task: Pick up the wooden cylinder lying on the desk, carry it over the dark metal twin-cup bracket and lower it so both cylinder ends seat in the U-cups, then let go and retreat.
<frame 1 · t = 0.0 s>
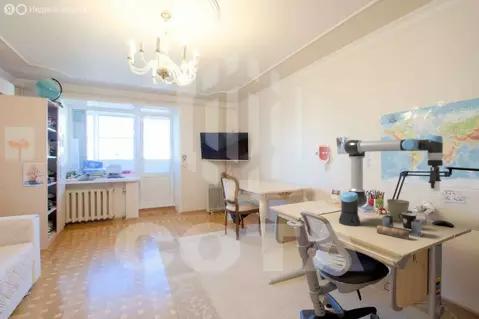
hand: (434, 192, 152), 28 cm above the table, fingers open, 13 cm apart
plant pot: (397, 220, 186), on the table
bracket: (401, 231, 159), on the table
wooden cylinder: (392, 235, 152), on the table
coffee mug: (407, 227, 169), on the table
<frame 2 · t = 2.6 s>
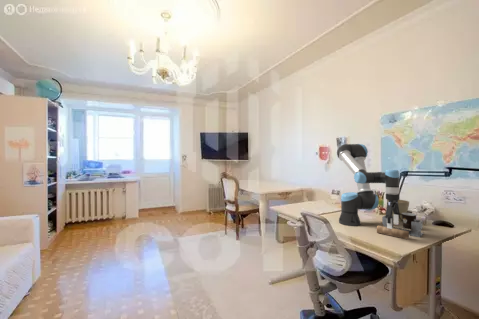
hand: (392, 226, 151), 6 cm above the table, fingers open, 13 cm apart
nothing on the table moved.
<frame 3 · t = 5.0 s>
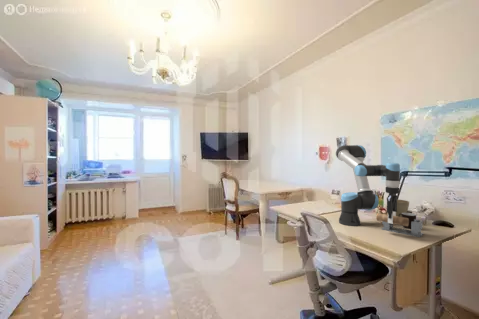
hand: (391, 222, 152), 9 cm above the table, fingers closed on wooden cylinder, 5 cm apart
wooden cylinder: (392, 223, 152), point 8 cm above the table, tilted 8°, touching gripper
everything else where it was.
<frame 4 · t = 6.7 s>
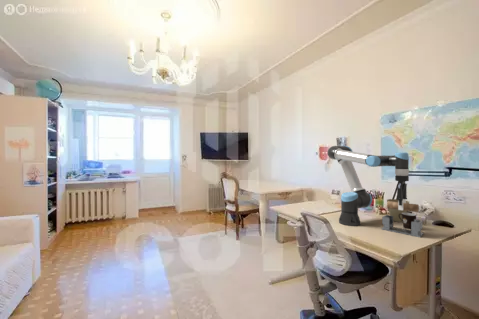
hand: (402, 209, 158), 16 cm above the table, fingers closed on wooden cylinder, 5 cm apart
wooden cylinder: (402, 210, 158), point 15 cm above the table, tilted 7°, touching gripper
everything else where it was.
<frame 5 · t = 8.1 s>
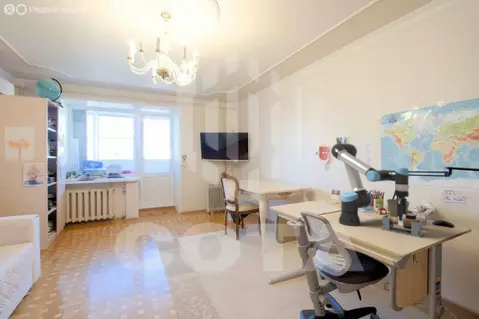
hand: (402, 224, 159), 5 cm above the table, fingers closed on wooden cylinder, 5 cm apart
wooden cylinder: (402, 225, 159), point 5 cm above the table, tilted 7°, touching gripper
everything else where it was.
when the fingers open (4 cm above the table, at t = 8.7 s): wooden cylinder stays where it is, resting on bracket.
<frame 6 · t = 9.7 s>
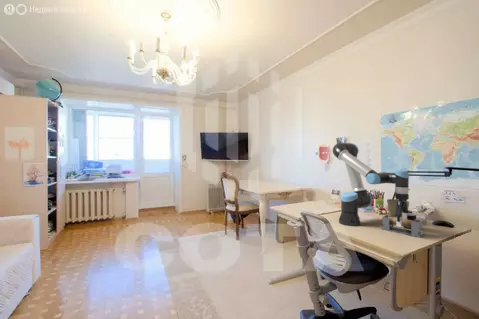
hand: (401, 224, 159), 5 cm above the table, fingers open, 13 cm apart
wooden cylinder: (402, 226, 159), point 4 cm above the table, touching bracket
everything else where it was.
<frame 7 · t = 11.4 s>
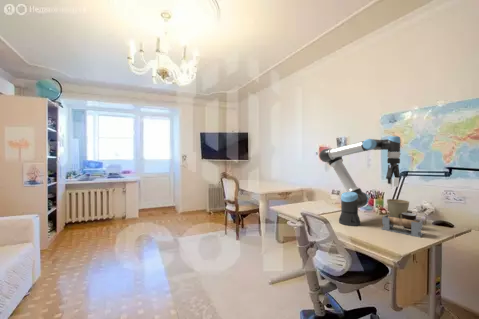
hand: (393, 187, 168), 29 cm above the table, fingers open, 13 cm apart
nothing on the table moved.
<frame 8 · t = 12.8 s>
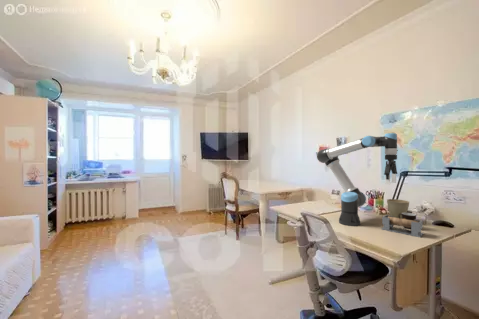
hand: (390, 183, 171), 32 cm above the table, fingers open, 13 cm apart
wooden cylinder: (402, 226, 159), point 4 cm above the table, tilted 9°, touching bracket
everything else where it was.
at the end: wooden cylinder 0.6 cm off-centre on the bracket, point 4.0 cm above the bracket's base; the gripper is holding nothing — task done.
